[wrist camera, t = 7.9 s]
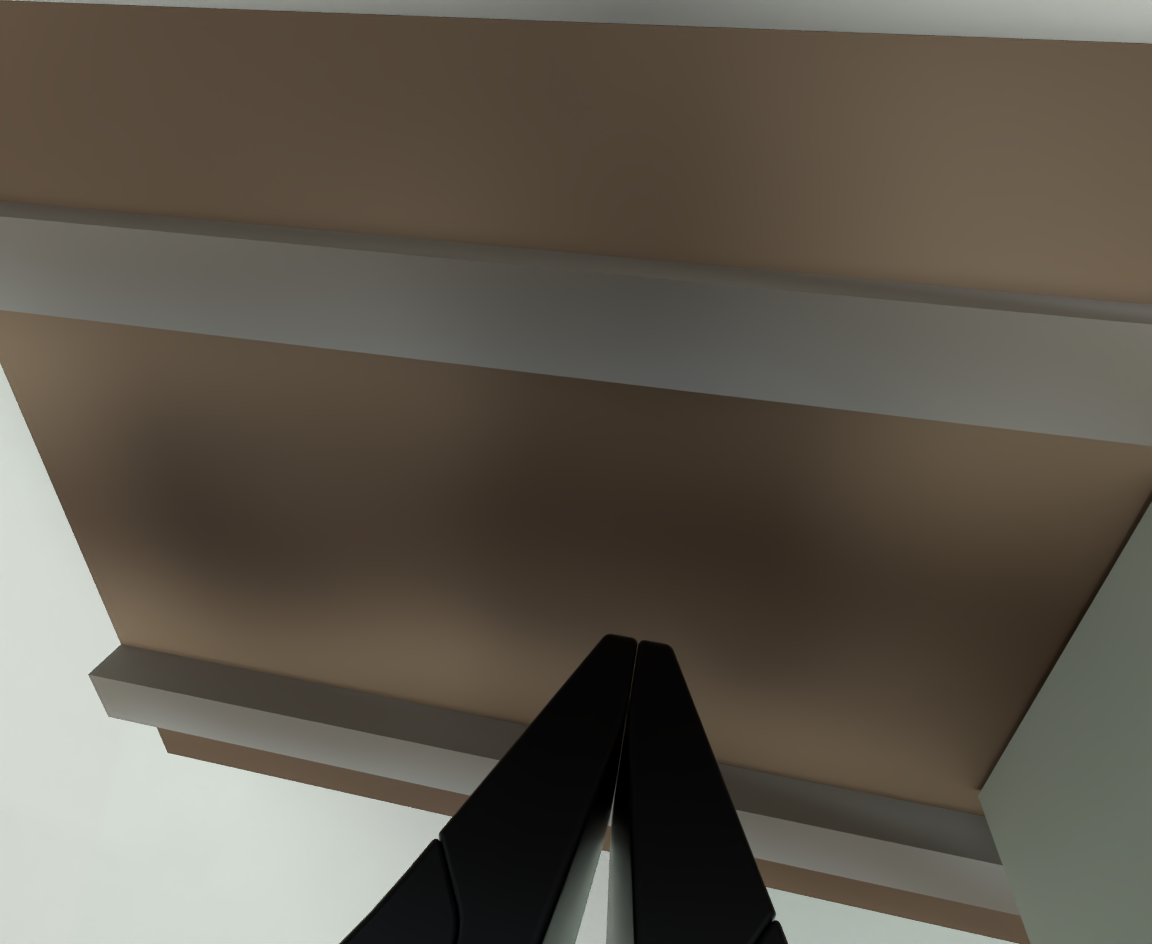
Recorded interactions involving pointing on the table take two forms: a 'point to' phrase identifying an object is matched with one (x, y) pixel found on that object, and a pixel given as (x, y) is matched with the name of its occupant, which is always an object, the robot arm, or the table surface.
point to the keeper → (1086, 774)
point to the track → (588, 394)
